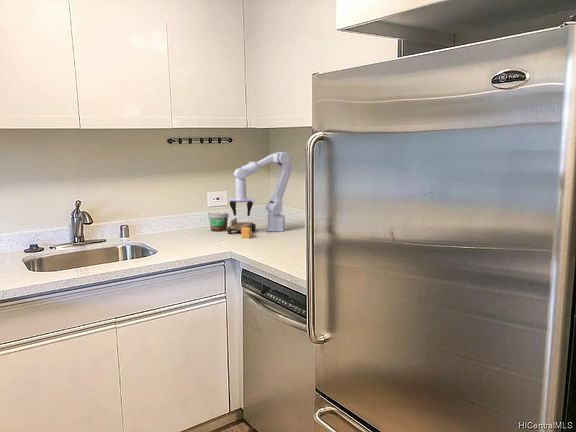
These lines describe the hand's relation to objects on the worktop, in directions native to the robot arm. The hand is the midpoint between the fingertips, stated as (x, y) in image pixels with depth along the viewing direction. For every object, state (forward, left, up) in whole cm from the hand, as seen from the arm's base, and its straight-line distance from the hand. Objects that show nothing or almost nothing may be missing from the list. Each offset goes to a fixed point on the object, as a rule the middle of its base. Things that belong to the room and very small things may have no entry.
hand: (241, 215), depth 250 cm
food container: (+16, -5, -10) cm, 20 cm away
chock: (-5, +8, -10) cm, 14 cm away
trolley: (+1, -3, -10) cm, 10 cm away
